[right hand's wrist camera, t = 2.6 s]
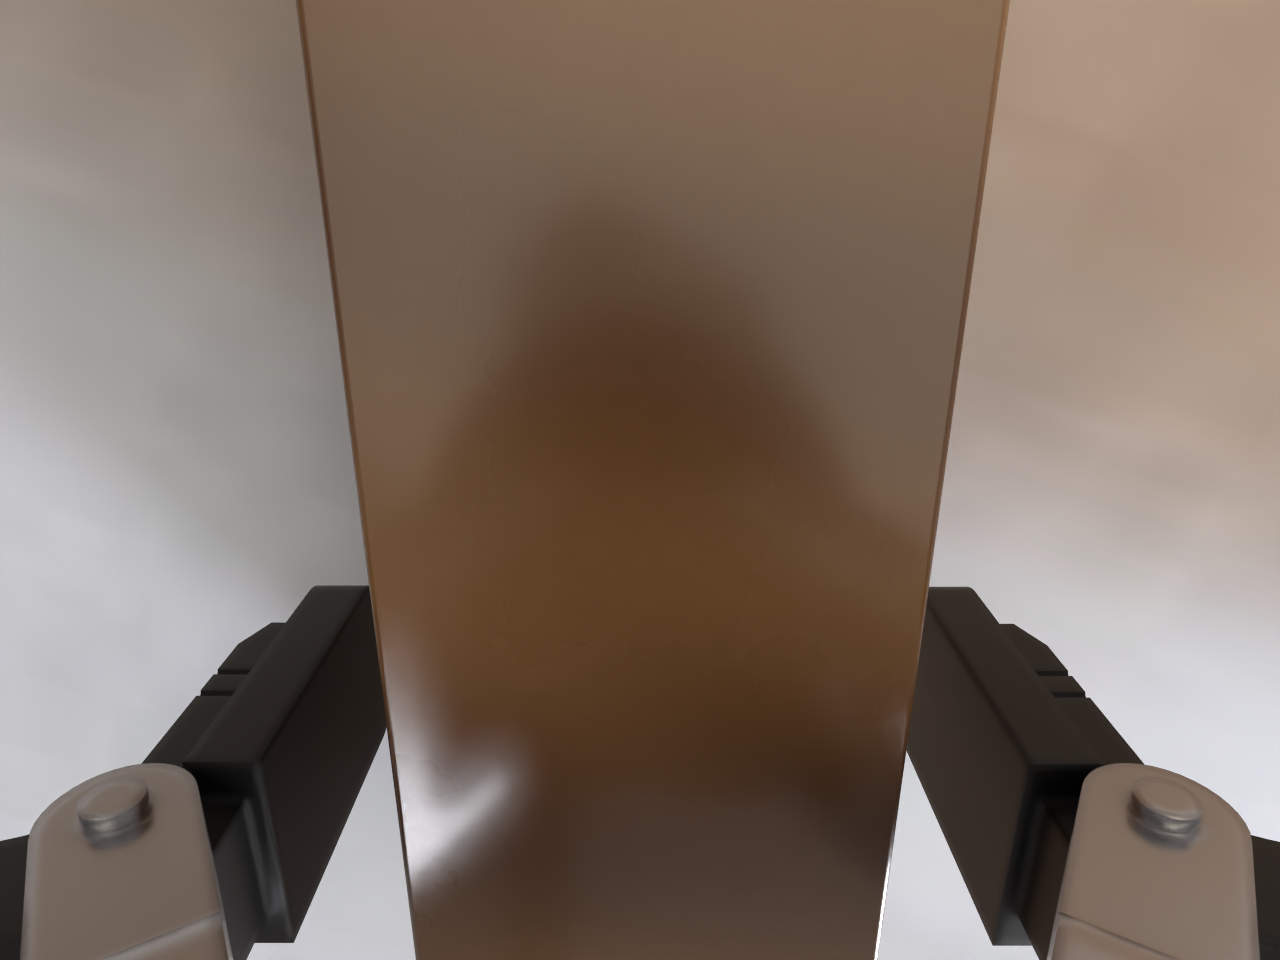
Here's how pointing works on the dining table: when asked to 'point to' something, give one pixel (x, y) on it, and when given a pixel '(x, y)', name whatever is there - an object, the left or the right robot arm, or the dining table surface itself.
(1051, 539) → the dining table surface
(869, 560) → the beam
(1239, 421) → the dining table surface
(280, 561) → the dining table surface
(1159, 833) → the right robot arm
